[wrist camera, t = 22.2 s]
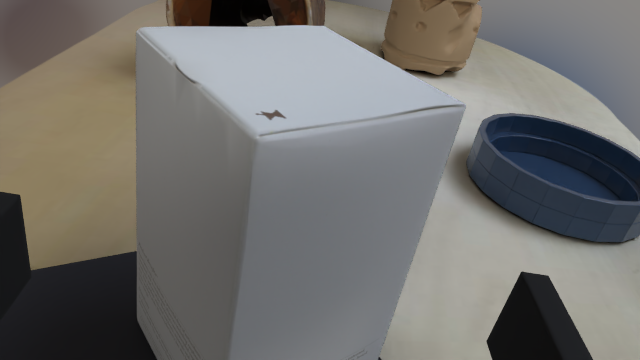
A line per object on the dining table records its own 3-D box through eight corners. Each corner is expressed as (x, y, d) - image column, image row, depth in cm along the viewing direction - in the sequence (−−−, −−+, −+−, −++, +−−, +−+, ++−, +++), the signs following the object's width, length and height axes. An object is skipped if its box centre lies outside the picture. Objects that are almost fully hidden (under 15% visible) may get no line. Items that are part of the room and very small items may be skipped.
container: (401, 76, 69) (442, -71, 60) (366, 44, 79) (396, -86, 70) (479, 81, 74) (528, -55, 65) (437, 51, 84) (474, -71, 74)
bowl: (677, 226, 48) (702, 189, 46) (567, 262, 39) (591, 219, 37) (539, 141, 59) (554, 109, 57) (431, 155, 51) (444, 118, 49)
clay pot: (343, -42, 70) (322, -64, 46) (333, 74, 75) (310, 107, 51) (234, -50, 71) (160, -76, 47) (231, 64, 76) (164, 93, 52)
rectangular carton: (377, 382, 26) (480, 104, 18) (209, 472, 21) (252, 138, 13) (281, 267, 32) (328, 20, 24) (132, 315, 26) (130, 21, 19)
